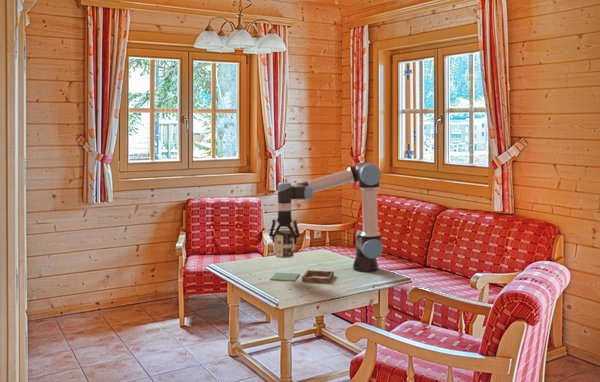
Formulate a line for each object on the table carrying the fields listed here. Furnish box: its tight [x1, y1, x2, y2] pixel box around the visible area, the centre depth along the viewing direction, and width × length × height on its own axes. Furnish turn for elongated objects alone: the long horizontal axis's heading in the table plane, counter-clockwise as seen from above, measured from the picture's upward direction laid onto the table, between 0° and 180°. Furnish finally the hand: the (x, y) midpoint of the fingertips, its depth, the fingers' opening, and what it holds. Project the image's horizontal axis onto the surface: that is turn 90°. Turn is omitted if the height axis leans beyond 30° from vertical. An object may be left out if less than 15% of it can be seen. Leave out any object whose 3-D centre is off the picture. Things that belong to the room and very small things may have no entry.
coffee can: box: [274, 229, 294, 259], centre depth 332 cm, size 10×10×14 cm
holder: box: [301, 269, 335, 284], centre depth 332 cm, size 15×15×2 cm
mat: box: [269, 272, 301, 282], centre depth 335 cm, size 14×14×1 cm
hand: (284, 248), depth 333 cm, fingers closed on coffee can, 10 cm apart
